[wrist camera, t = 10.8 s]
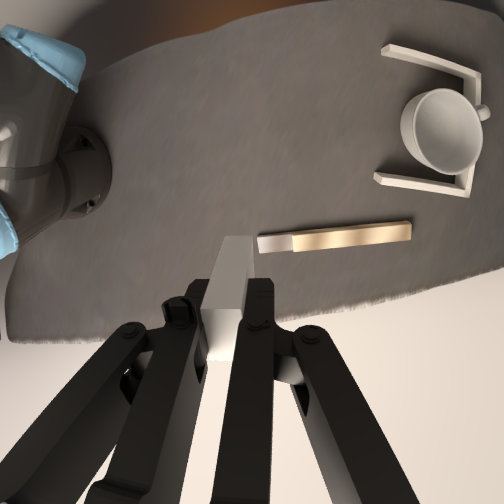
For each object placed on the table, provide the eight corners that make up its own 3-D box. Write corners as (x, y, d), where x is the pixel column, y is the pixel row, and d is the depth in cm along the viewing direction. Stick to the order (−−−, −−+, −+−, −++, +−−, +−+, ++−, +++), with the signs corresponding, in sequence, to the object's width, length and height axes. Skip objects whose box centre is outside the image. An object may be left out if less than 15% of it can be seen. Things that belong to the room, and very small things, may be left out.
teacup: (402, 171, 38) (426, 184, 31) (381, 97, 34) (403, 95, 27) (474, 150, 35) (504, 161, 28) (458, 82, 31) (488, 81, 24)
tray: (373, 178, 39) (381, 184, 36) (381, 48, 31) (389, 43, 28) (457, 191, 38) (469, 197, 35) (468, 74, 30) (480, 73, 27)
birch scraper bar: (259, 250, 46) (259, 255, 44) (257, 235, 44) (256, 239, 43) (407, 235, 42) (410, 239, 41) (407, 220, 41) (411, 224, 40)
